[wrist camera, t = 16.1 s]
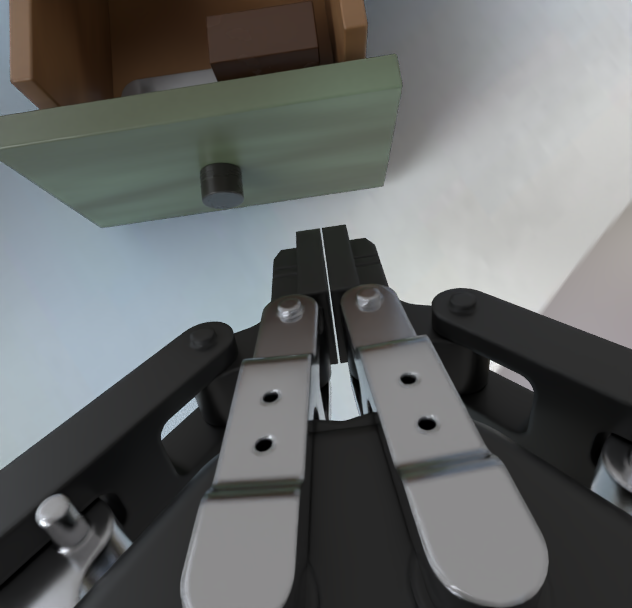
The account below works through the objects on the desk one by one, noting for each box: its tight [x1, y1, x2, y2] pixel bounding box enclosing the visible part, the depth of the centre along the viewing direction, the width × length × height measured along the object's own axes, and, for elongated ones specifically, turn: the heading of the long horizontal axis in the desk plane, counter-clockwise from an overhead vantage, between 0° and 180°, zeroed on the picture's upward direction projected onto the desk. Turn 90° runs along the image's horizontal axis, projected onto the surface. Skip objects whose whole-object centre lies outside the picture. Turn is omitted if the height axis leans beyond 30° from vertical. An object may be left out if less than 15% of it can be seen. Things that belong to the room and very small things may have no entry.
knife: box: [121, 1, 320, 97], centre depth 20 cm, size 9×2×3 cm, turn 97°
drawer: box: [0, 0, 403, 228], centre depth 19 cm, size 15×13×7 cm
